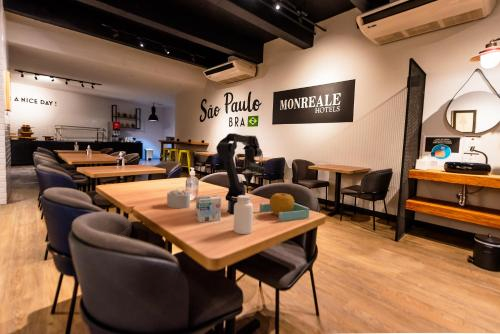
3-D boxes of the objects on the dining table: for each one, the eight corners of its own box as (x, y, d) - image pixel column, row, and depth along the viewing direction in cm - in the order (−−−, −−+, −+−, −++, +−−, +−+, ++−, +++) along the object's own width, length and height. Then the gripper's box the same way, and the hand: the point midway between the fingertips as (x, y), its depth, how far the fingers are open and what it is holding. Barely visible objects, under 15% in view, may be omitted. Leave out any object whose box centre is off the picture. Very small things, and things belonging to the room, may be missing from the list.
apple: (265, 212, 141) (265, 191, 140) (285, 210, 147) (286, 190, 146) (276, 219, 130) (277, 196, 129) (298, 217, 135) (300, 195, 134)
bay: (279, 221, 126) (280, 211, 125) (259, 211, 143) (259, 202, 142) (309, 218, 134) (309, 208, 134) (286, 208, 152) (286, 200, 151)
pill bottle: (233, 228, 114) (234, 194, 113) (251, 228, 115) (252, 194, 114) (233, 234, 106) (234, 198, 105) (253, 234, 107) (254, 198, 106)
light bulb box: (199, 222, 120) (199, 199, 119) (195, 218, 126) (195, 196, 125) (221, 220, 125) (221, 198, 124) (216, 216, 131) (216, 195, 130)
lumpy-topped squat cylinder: (178, 202, 157) (179, 188, 156) (194, 206, 149) (194, 191, 149) (164, 205, 148) (164, 190, 147) (180, 209, 141) (180, 193, 140)
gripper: (240, 158, 138) (239, 187, 139) (271, 158, 147) (269, 186, 148) (232, 157, 148) (231, 184, 149) (260, 157, 156) (259, 183, 158)
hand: (248, 184), depth 151 cm, fingers closed
